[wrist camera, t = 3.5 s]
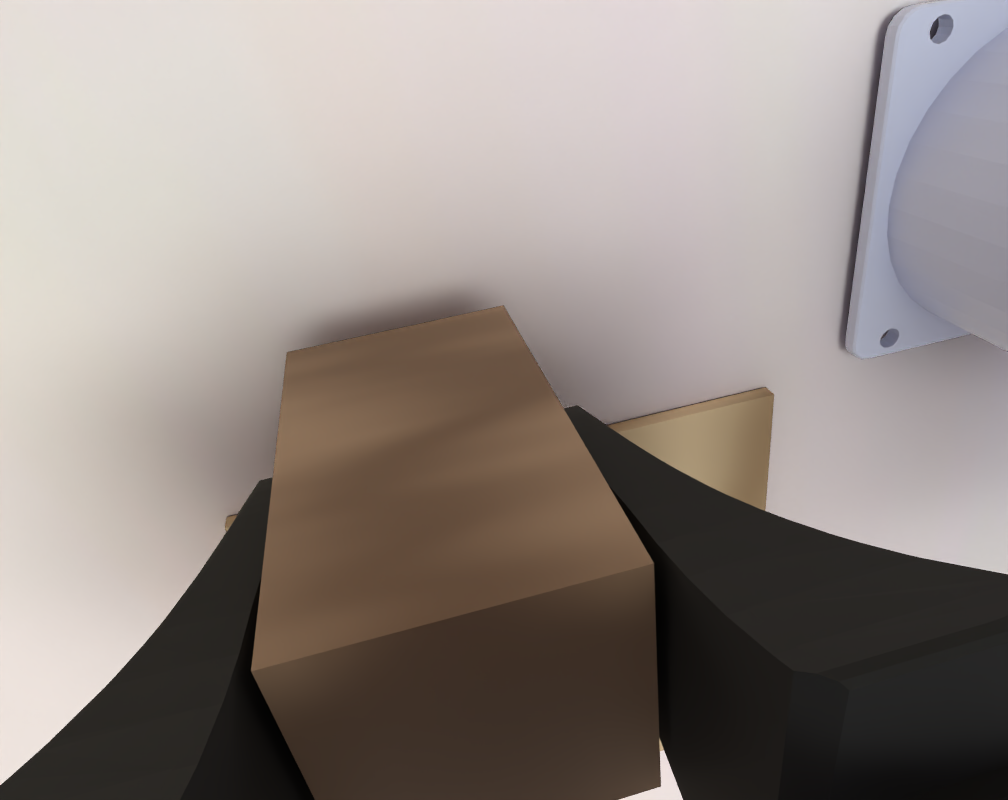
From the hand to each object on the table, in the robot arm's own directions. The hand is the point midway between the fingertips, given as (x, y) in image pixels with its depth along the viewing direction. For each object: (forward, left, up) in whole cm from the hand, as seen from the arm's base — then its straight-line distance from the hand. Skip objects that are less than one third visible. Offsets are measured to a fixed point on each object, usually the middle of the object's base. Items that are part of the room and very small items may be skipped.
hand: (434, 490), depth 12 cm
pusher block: (0, 0, -2) cm, 2 cm away
